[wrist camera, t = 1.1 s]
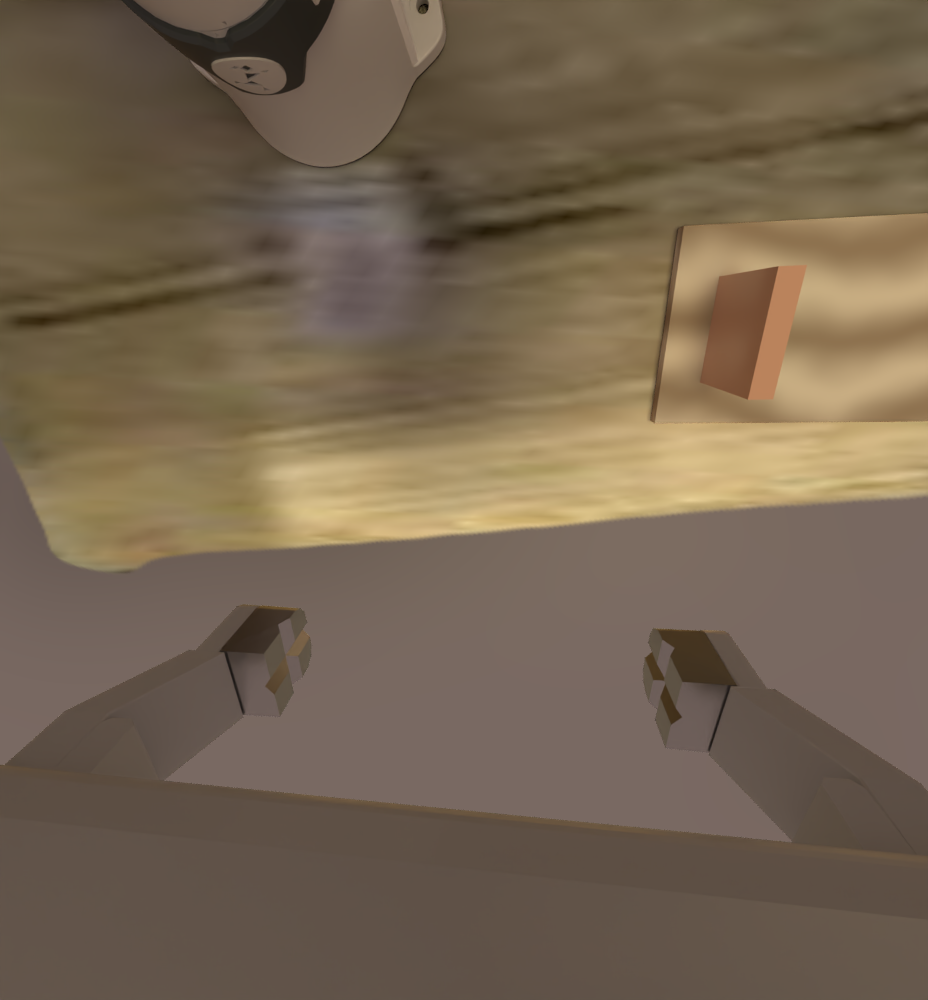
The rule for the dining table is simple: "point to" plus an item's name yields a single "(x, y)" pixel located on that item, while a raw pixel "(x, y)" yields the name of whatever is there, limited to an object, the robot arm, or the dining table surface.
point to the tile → (751, 330)
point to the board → (808, 321)
